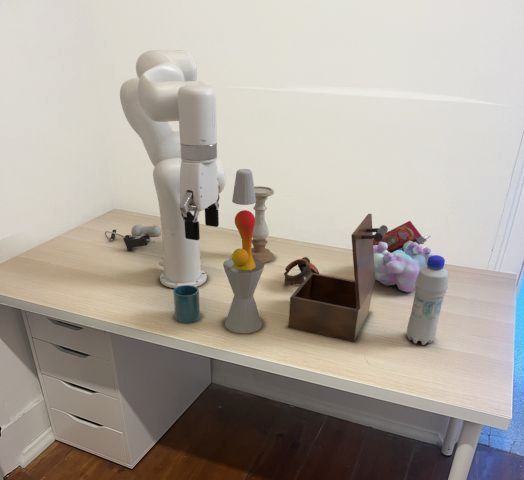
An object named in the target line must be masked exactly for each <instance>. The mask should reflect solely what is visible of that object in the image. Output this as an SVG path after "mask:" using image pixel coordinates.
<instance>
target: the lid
mask: <svg viewBox="0 0 524 480" xmlns="http://www.w3.org/2000/svg"><path fill="white" fill-rule="evenodd" d="M388 231H389V228H388V226H387V225H385V224H384V225H380V226H379V227H374V228H373V215H372V213H368V214H366V216H365V217H364V218H363V220H362V221H361V222H360V224H359V225H358V226H357V227H356V228H355V229H354V231H353V232H352V234H351V250H352V261H353V263H352V265H353V278H354V279H353V280H354V281H355V293H356V307H357V309H360V308H361V307H362V305H363V303H364V301H365V299H366V298H367V296H368V294H369V292H370V290H371V289H372V287H374V285H375V283H376V280H375V270H374V251H373V239H375V240H376V241H378V242H379V241H381V240H382V239H383V237H384V236H385V234H386V233H387V232H388ZM373 233H375V234H373ZM372 290H373V289H372Z"/></svg>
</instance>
